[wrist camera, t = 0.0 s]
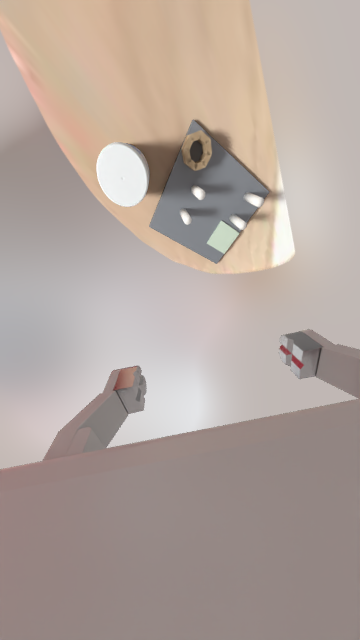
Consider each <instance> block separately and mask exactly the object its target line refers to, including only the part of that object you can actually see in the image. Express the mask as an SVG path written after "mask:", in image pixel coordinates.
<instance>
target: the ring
mask: <svg viewBox="0 0 360 640" xmlns="http://www.w3.org/2000/svg"><path fill="white" fill-rule="evenodd" d="M196 140H197V141H198V142H199V143H200V144H201V145H202V155H201V157H200V160H199V161H197V162H194V161H193V160H191V157H190V148H191V145H192V143H193V141H196ZM181 151H182V156H183V162H184V164H186V165H187V166H188V167H189V168H191V169H192V170H194V171H197V170H200V169H202V168H205V167H206V165H207V163H208V161H209V159H210V157H211V155H212V149H211V139H210V138H209V137H208V136H207V135H206V134H205V133H204V132H203V131H202V130H200V131H197V132H195V133H192V134H189V135H187V136H186V139H185V141H184V143H183V146H182V148H181Z"/></svg>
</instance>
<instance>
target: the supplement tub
mask: <svg viewBox="0 0 360 640" xmlns="http://www.w3.org/2000/svg"><path fill="white" fill-rule="evenodd" d="M149 176H150V172H149V166H148V163H147V160H146V158H145V157H144V155H143V154H142V152H141V151H140V150H139V149H138V148H136V147H135V146H133V145H130V144H127V143H121V142H115V143H111V144H109V145H107V146H106V147H105V148H104V149H103V150H102V151H101V153H100V155H99V157H98V160H97V177H98V181H99V183H100V186H101V188H102V190H103V191H104V193H105V194H106V195H107V197H108V198H109V199H110V200H112V201H113V202H114V203H116V204H118V205H120V206H124V207H131V206H135V205H137V204H138V203H139V202H141V201H142V200H143V198H144V197H145V195H146V193H147V190H148V185H149Z"/></svg>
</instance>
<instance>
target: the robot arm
mask: <svg viewBox="0 0 360 640" xmlns="http://www.w3.org/2000/svg"><path fill="white" fill-rule="evenodd" d="M280 343H281V344H282V345H281V346H280V348H279V355H280V358H281V359H282V361H283V362H284V363H285V364H286V365H288V366H291V371H292V372H293V373H294V374H295V375H296V376H297V377H298V378H299V379H302V378H308V377H314V376H316V377H317V378H319V379H321V380H323V381H325V382H327V383H329V384H331V385H333V386H335V387H337V388H339V389H341V390H343V391H345V392H347V393H349V394H351V395H353V396H355V397H357V398H359V399H356V400H351V401H345V402H340V403H335V404H330V405H325V406H320V407H315V408H309V409H305V410H299V411H295V412H289V413H284V414H279V415H274V416H269V417H264V418H259V419H254V420H249V421H243V422H239V423H233V424H228V425H223V426H218V427H213V428H208V429H202V430H197V431H192V432H187V433H182V434H178V435H172V436H167V437H162V438H157V439H151V440H147V441H141V442H137V443H132V444H126V445H121V446H116V447H111V448H106V447H107V446H108V444H109V443H110V441H111V440H112V438H113V437H114V435H115V434H116V433H117V431H118V430H119V428H120V427H121V425H122V423H123V422H124V421H125V419H126V418H127V416H128V414H131V413H135V412H139V411H143V410H144V403H145V398H144V395H145V394H146V381H145V378H144V376H142V375H141V371H142V370H141V368H140V367H139V366H133V367H127V368H122V369H117V370H113V371H112V372H111V374H110V377H109V379H108V381H107V384H106V386H105V389H104V391H103V393H101V394H99V395H98V396H97V397H96V398H95V399H94V400H93V401H91V402H90V403H89V404H88V405H87V406H86V407H85V408H84V409H83V410H82V411H81V412H80V413H78V414H77V415H76V416H75V417H74V418H73V419H72V420H71V421H70V422H69V423H68V424H67V425H66V426H64V427H63V428H62V429H61V430H60V431H59V432H58V434H57V435H56V437H55V439H54V441H53V443H52V445H51V446H50V448H49V450H48V452H47V453H46V455H45V457H44V459H43V461H40V462H35V463H30V464H25V465H20V466H14V467H10V468H4V469H0V640H360V350H359V349H355V348H351V347H347V346H343V345H339V344H337V345H335V344H333V343H332V342H330V341H328V340H327V339H325V338H324V337H322V336H321V335H319V334H317V333H316V332H314V331H313V330H310V329H307V330H303V331H299V332H295V333H290V334H286V335H281V337H280Z"/></svg>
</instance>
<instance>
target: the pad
mask: <svg viewBox="0 0 360 640" xmlns="http://www.w3.org/2000/svg"><path fill="white" fill-rule="evenodd" d="M238 235H239V232H237V231H236V230H234V229H233V228H231V227H230V226H229V225H227V224H226V223H224V222H223V221H220V223H219V224H218V226H217V228H216V229H215V231H214V232H213V234H212V235H211V237H210V238H209V240H208V242H207V244H209V245H210V246H212V247H214V248H215V249H217V250H219V251H220V252H222V253H224V254H225V252H226V251H227V250H228V248H229V247H230V246H231V244H232V243H233V241H234V240H235V239H236V237H237V236H238Z"/></svg>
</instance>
